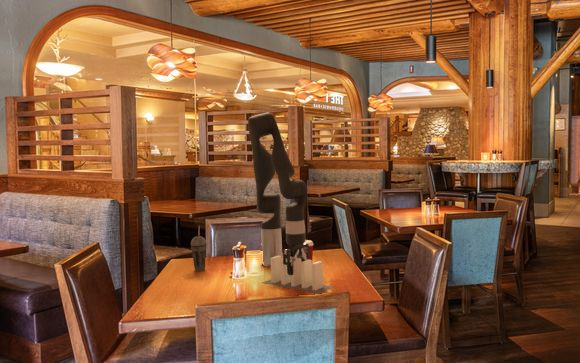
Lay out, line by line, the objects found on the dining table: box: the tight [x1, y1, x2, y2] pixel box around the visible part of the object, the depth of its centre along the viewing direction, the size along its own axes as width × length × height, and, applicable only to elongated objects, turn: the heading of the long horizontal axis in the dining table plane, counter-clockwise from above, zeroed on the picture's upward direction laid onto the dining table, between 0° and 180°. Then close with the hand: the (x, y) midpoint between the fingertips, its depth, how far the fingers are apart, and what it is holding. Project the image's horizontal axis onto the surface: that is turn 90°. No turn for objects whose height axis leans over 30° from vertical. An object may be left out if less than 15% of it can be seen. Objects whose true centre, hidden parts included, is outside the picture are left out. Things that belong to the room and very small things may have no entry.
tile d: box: [301, 259, 313, 288], centre depth 197 cm, size 2×5×10 cm, turn 143°
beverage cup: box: [190, 225, 208, 272], centre depth 231 cm, size 7×7×20 cm
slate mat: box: [261, 279, 334, 294], centre depth 200 cm, size 28×10×1 cm, turn 53°
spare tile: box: [290, 258, 302, 287], centre depth 200 cm, size 2×5×10 cm, turn 143°
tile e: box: [312, 260, 324, 290], centre depth 194 cm, size 2×5×10 cm, turn 143°
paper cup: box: [298, 239, 314, 261], centre depth 218 cm, size 8×8×14 cm
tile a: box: [270, 256, 281, 283], centre depth 206 cm, size 2×5×10 cm, turn 143°
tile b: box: [280, 258, 291, 285], centre depth 203 cm, size 2×5×10 cm, turn 143°
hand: (296, 272), depth 200 cm, fingers open, 8 cm apart
